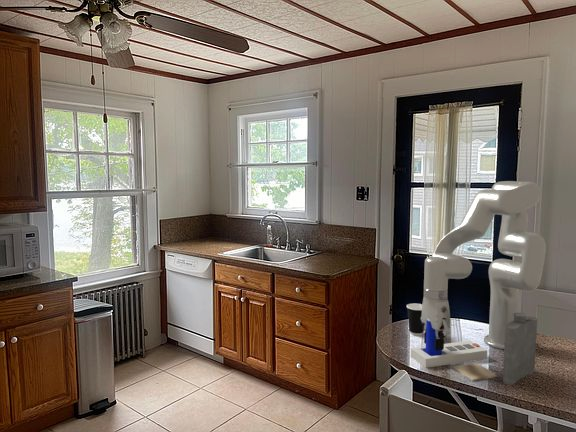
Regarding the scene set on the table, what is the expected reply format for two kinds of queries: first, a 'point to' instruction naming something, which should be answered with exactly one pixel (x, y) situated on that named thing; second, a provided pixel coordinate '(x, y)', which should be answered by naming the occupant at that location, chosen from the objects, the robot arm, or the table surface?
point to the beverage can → (431, 340)
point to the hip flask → (519, 348)
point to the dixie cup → (415, 319)
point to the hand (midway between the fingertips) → (433, 345)
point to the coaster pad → (475, 371)
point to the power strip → (450, 354)
